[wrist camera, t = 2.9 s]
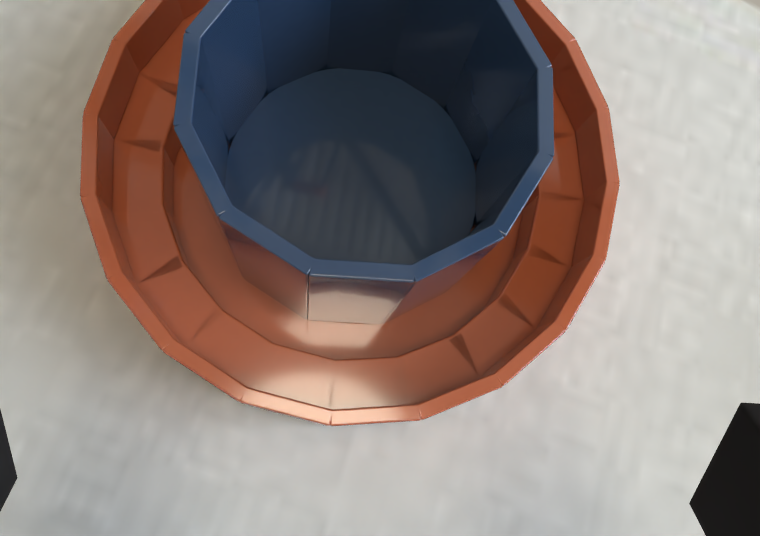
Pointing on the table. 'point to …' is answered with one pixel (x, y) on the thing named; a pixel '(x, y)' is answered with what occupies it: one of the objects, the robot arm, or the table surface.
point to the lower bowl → (322, 338)
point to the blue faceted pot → (363, 143)
